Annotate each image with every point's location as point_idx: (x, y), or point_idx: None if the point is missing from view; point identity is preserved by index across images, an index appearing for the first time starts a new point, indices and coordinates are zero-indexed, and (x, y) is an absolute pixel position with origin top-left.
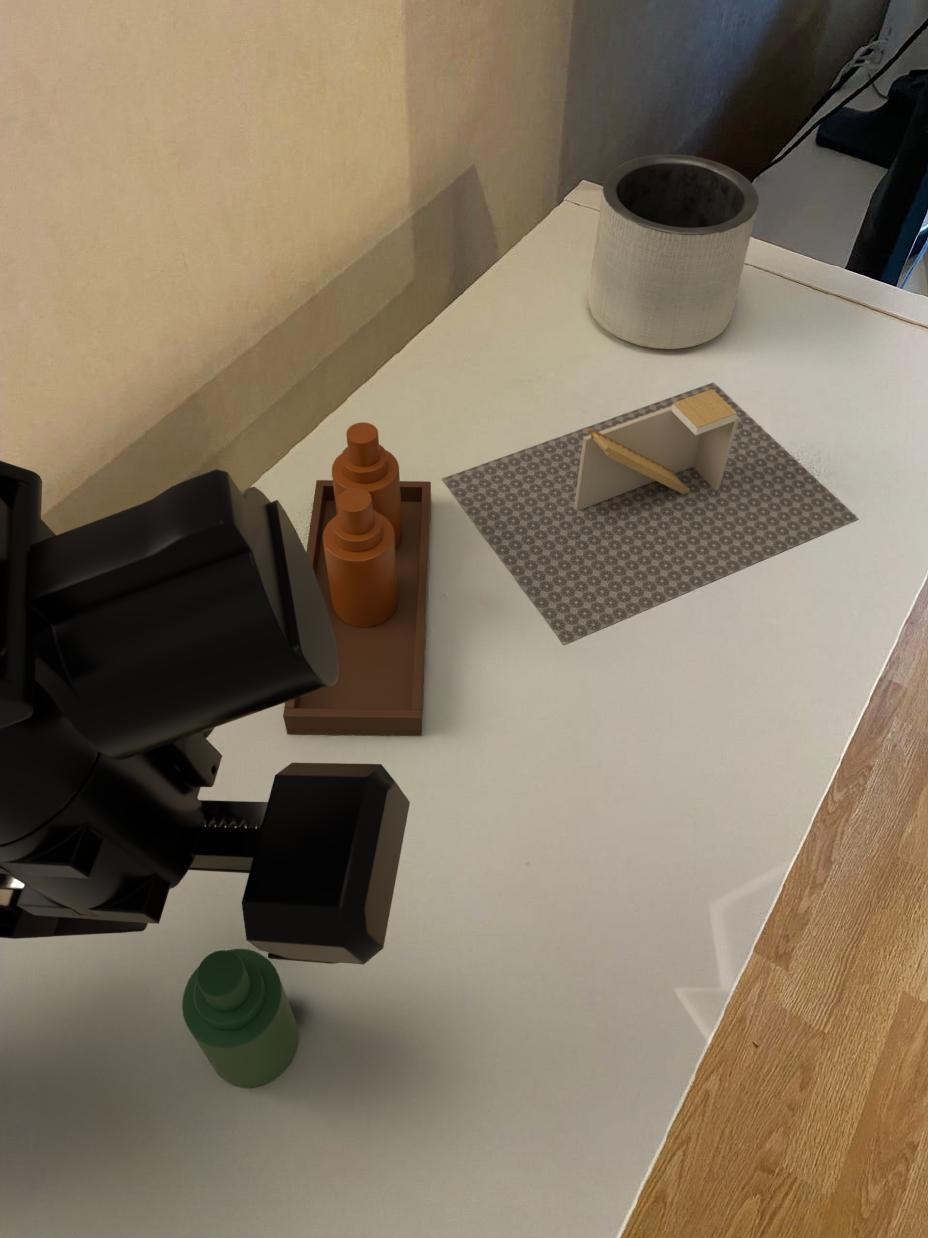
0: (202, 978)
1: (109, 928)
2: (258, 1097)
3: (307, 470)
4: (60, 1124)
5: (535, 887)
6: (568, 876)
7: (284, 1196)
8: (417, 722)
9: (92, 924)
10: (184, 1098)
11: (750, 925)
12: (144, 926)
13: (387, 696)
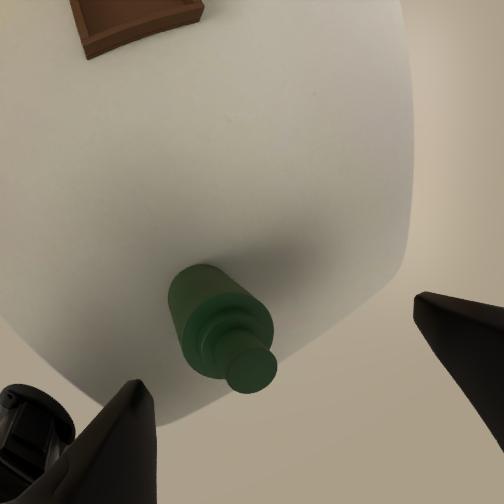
0: (239, 386)
1: (153, 467)
2: None
3: None
4: None
5: (325, 108)
6: (338, 96)
7: None
8: (200, 11)
9: (150, 496)
10: None
11: (412, 107)
12: (151, 399)
13: (159, 3)
